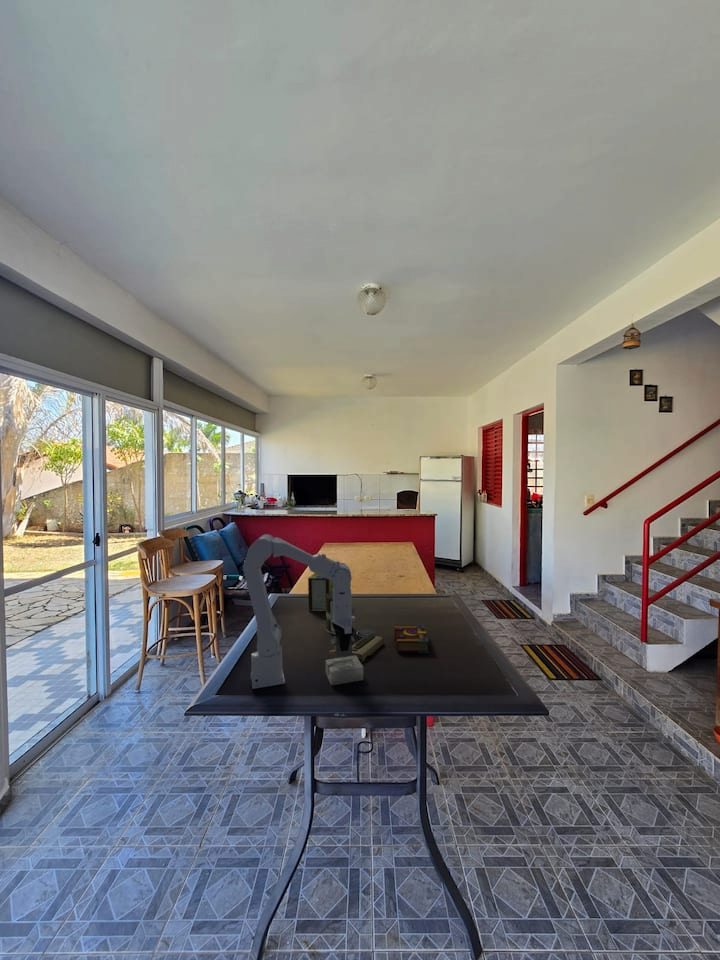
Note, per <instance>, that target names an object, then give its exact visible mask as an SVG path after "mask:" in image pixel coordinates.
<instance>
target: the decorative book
mask: <svg viewBox="0 0 720 960" xmlns="http://www.w3.org/2000/svg"><path fill="white" fill-rule="evenodd" d="M393 629H394V631H393V632H394V642H395V650H396V652H397V653H399V654H400V653H404V654H405V653H406V654H407V653H410V654H411V653H413V654H415V653H418V654H429V653H430V650H429V647H428V644H429V643H430V641H429V639H428V636H427V631H425V626H424V624H413V625H411V624H409V625H407V624H406V625H403V624H402V625H401V624H400V625H394V628H393Z"/></svg>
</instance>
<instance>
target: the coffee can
mask: <svg viewBox="0 0 720 960" xmlns="http://www.w3.org/2000/svg"><path fill="white" fill-rule="evenodd" d="M325 617H326V619H325V621H326V622H325V623H326V628H325V630H326V633H328V634H331V635H336V634H335V630H334V628H333V626H332V624H331V623H332V622H333V592H330V593H327V594H326V612H325Z"/></svg>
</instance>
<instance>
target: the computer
mask: <svg viewBox="0 0 720 960" xmlns="http://www.w3.org/2000/svg"><path fill="white" fill-rule="evenodd" d="M367 636H368V637H366V638H364V637H362V638H361V639H360V640H357V641H356V642H355V643H353V644H352V655H346V656H342V657H348V656H355V655H356V656H357V658H358V659H359V661H360V663H363V662H365V661H366V658H367V657H368V656H370V655H371V656H372V655H373V654H375V653H376V652H377V650H379V649H380V648H381V647H382V646H383V645H385V640H384V637H382V636H375V635H367ZM371 656H370V657H371Z"/></svg>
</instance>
